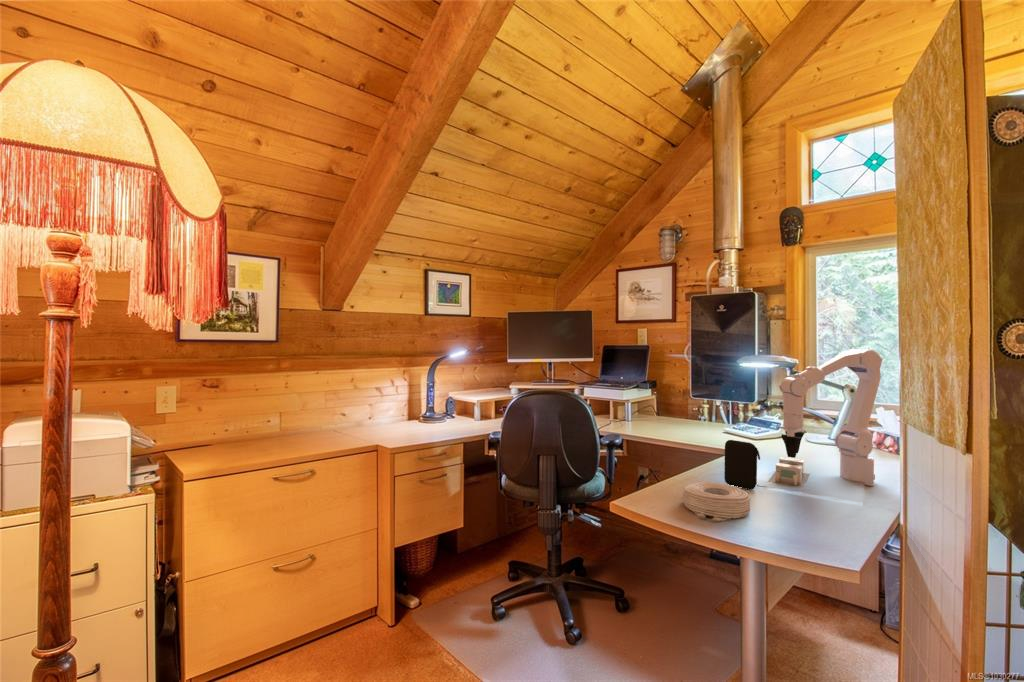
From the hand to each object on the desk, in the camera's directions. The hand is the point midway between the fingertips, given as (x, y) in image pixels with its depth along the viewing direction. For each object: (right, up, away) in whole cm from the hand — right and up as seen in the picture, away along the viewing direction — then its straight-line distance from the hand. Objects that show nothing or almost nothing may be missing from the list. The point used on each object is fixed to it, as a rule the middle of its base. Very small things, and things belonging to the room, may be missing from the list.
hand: (793, 454), depth 160 cm
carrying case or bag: (-20, -9, -7) cm, 24 cm away
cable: (-37, -9, -27) cm, 47 cm away
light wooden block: (-3, -8, -3) cm, 9 cm away
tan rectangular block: (+3, -8, +5) cm, 10 cm away
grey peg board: (0, -9, +1) cm, 9 cm away
